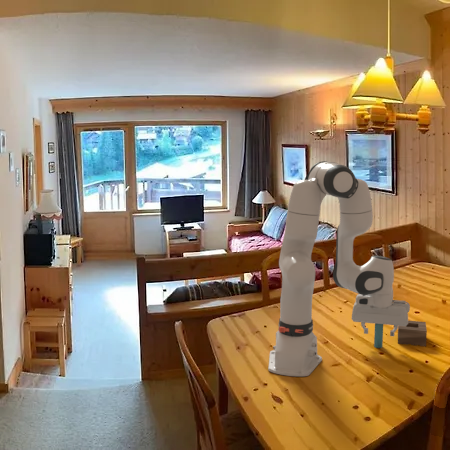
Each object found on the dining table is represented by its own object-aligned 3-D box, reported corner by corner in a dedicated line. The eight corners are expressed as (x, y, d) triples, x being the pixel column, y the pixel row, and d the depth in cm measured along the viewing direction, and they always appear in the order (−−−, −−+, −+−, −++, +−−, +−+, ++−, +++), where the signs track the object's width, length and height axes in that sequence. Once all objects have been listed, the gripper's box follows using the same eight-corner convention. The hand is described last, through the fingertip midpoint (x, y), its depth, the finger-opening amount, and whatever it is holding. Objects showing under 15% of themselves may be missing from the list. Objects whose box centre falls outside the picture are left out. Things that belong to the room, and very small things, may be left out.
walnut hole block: (425, 346, 199) (426, 331, 198) (397, 343, 202) (398, 328, 201) (424, 336, 208) (425, 322, 207) (397, 334, 211) (398, 319, 210)
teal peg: (382, 348, 197) (383, 322, 195) (373, 347, 198) (374, 322, 196) (382, 345, 200) (383, 320, 198) (374, 344, 201) (375, 319, 199)
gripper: (409, 298, 196) (408, 334, 198) (352, 294, 202) (352, 328, 204) (410, 303, 190) (408, 340, 192) (351, 299, 196) (350, 334, 198)
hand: (379, 334), depth 198 cm, fingers open, 8 cm apart
